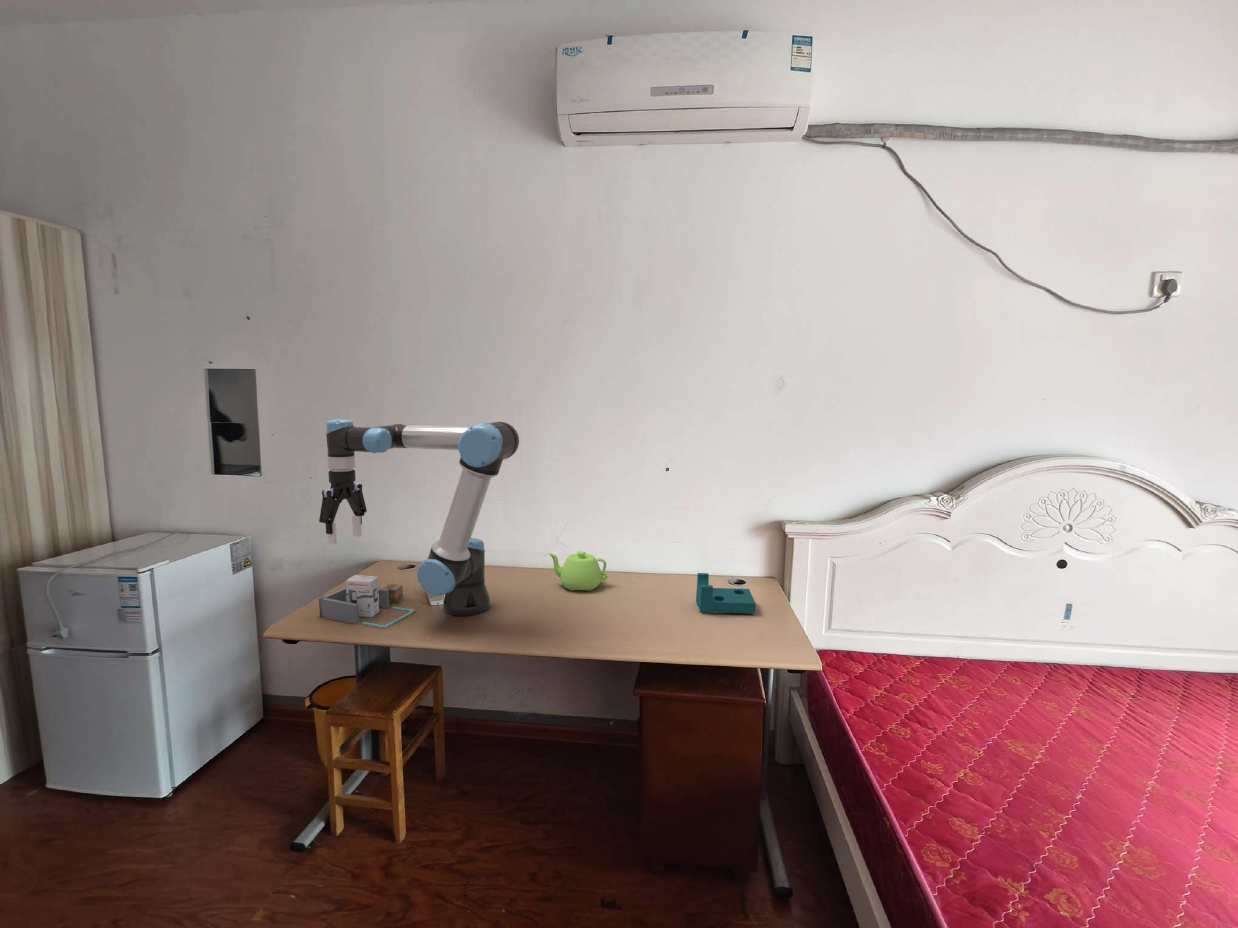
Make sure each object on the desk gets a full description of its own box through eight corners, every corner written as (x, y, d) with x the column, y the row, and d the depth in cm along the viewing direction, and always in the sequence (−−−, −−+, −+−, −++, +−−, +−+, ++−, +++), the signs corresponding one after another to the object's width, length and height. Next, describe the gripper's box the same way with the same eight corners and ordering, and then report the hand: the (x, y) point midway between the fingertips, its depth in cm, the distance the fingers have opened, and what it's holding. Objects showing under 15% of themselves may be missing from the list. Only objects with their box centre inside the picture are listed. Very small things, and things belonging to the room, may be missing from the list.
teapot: (545, 593, 202) (545, 557, 200) (549, 579, 217) (549, 545, 215) (607, 594, 203) (608, 558, 201) (607, 579, 218) (608, 546, 216)
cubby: (389, 607, 187) (388, 589, 186) (355, 624, 173) (355, 605, 172) (355, 600, 191) (354, 583, 190) (319, 616, 178) (318, 598, 177)
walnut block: (402, 598, 194) (402, 584, 194) (396, 604, 190) (395, 589, 189) (388, 597, 195) (388, 583, 194) (381, 603, 190) (380, 589, 189)
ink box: (345, 615, 179) (344, 579, 177) (354, 609, 184) (352, 574, 182) (372, 617, 178) (370, 581, 177) (380, 611, 183) (378, 575, 182)
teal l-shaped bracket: (699, 616, 187) (701, 586, 185) (695, 600, 198) (697, 572, 195) (754, 617, 187) (757, 588, 185) (747, 602, 198) (750, 574, 195)
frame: (415, 611, 184) (415, 610, 184) (384, 628, 171) (384, 627, 171) (394, 607, 186) (394, 606, 186) (362, 624, 173) (362, 622, 173)
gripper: (359, 464, 188) (361, 530, 191) (302, 473, 168) (306, 547, 171) (377, 465, 186) (379, 532, 189) (322, 475, 165) (325, 550, 168)
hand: (345, 539), depth 180 cm, fingers open, 9 cm apart
